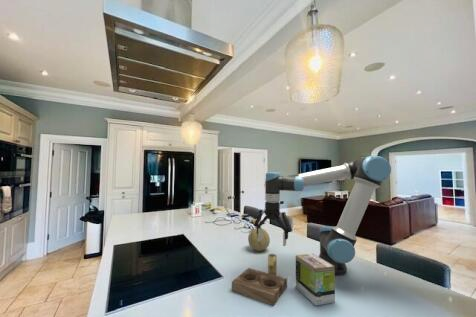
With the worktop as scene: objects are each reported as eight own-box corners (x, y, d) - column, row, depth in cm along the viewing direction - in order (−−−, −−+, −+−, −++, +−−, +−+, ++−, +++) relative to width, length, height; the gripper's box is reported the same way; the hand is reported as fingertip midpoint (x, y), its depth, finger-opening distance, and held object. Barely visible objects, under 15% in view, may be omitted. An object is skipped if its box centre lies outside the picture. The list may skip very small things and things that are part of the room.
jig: (248, 275, 110) (248, 267, 110) (286, 287, 99) (286, 278, 100) (231, 290, 96) (231, 281, 96) (273, 305, 86) (273, 295, 86)
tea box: (336, 302, 88) (335, 265, 89) (315, 306, 86) (314, 268, 86) (313, 284, 103) (313, 252, 104) (294, 287, 100) (294, 254, 101)
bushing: (269, 272, 114) (270, 253, 114) (277, 274, 111) (277, 254, 112) (266, 276, 110) (266, 255, 110) (274, 278, 108) (274, 257, 108)
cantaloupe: (267, 255, 136) (267, 231, 137) (245, 252, 141) (245, 229, 142) (271, 248, 150) (271, 226, 151) (251, 245, 155) (251, 224, 156)
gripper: (248, 200, 116) (247, 240, 115) (293, 204, 103) (293, 250, 102) (254, 198, 122) (253, 236, 121) (298, 203, 110) (297, 245, 108)
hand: (271, 242), depth 112 cm, fingers open, 13 cm apart
